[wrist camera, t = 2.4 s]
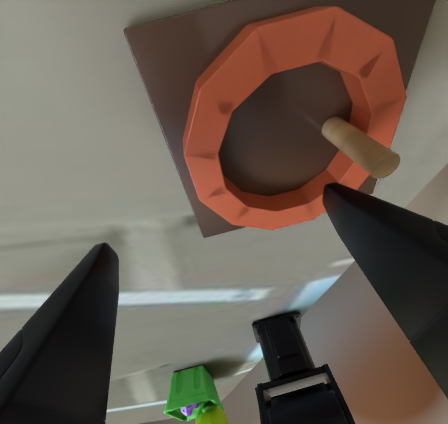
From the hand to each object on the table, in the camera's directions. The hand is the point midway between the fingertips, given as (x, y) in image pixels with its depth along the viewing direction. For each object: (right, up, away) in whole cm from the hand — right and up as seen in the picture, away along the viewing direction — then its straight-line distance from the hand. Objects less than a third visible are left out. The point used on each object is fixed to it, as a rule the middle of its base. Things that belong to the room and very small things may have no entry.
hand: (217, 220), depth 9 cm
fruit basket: (-5, -29, +32) cm, 43 cm away
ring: (+4, +4, +4) cm, 7 cm away
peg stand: (+4, +5, +4) cm, 7 cm away
